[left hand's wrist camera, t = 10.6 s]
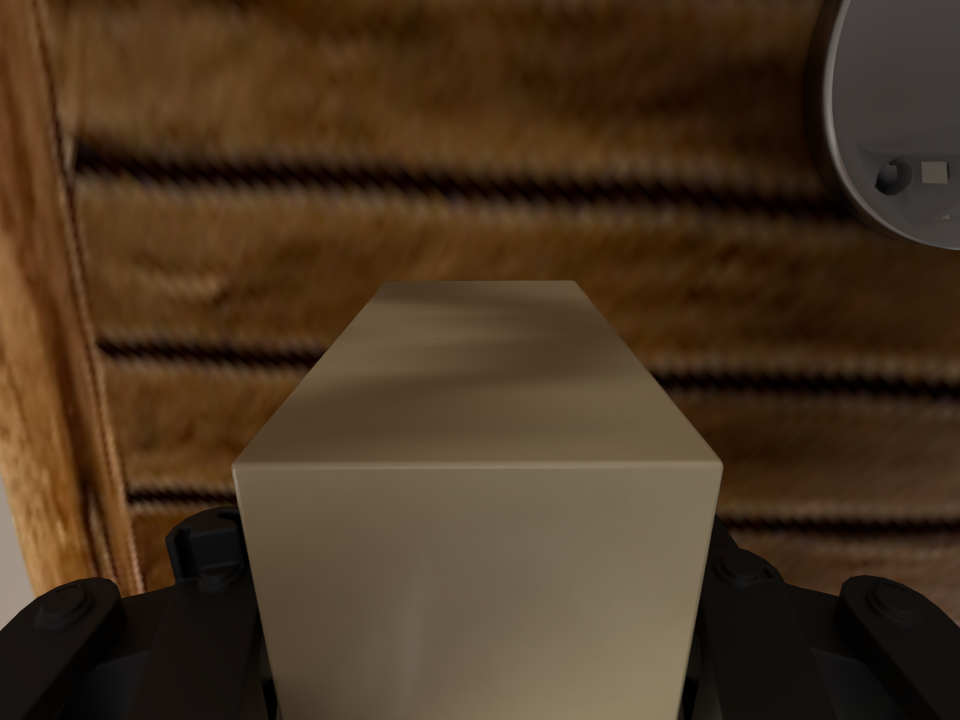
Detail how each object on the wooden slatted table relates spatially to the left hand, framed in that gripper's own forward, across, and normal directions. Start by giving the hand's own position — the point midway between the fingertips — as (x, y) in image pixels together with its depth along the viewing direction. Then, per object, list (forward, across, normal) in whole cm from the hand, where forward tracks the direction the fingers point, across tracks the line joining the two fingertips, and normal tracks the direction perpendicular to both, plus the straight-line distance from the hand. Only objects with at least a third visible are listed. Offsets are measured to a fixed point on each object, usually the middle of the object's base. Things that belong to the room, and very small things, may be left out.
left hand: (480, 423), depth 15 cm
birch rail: (0, 0, +9) cm, 9 cm away
